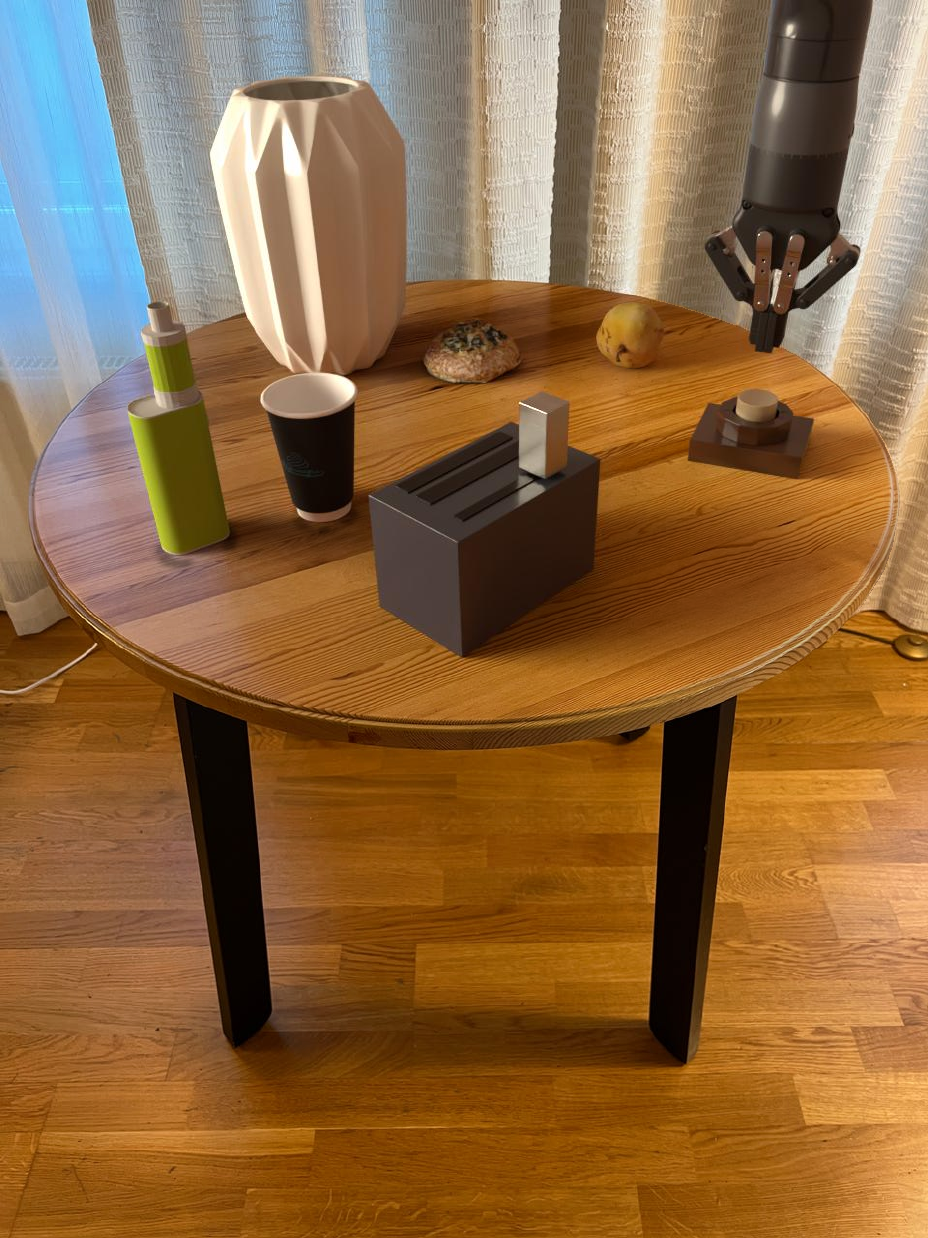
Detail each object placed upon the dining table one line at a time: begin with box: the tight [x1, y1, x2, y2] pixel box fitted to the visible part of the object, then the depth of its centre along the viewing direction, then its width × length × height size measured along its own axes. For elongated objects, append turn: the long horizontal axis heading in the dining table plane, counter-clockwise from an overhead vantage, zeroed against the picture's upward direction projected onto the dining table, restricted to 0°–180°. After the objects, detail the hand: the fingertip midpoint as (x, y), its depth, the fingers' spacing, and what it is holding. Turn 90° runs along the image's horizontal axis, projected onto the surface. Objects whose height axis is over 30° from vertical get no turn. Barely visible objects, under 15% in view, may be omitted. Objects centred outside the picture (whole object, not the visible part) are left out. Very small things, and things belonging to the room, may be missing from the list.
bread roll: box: [422, 318, 523, 384], centre depth 112 cm, size 11×11×5 cm
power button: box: [735, 388, 779, 422], centre depth 93 cm, size 4×4×2 cm
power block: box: [687, 396, 815, 480], centre depth 95 cm, size 10×8×4 cm
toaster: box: [368, 421, 601, 659], centre depth 77 cm, size 15×9×10 cm, turn 135°
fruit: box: [595, 301, 665, 369], centre depth 110 cm, size 7×7×10 cm
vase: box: [209, 74, 408, 376], centre depth 107 cm, size 20×20×28 cm
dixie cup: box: [260, 373, 359, 523], centre depth 87 cm, size 8×8×11 cm
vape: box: [126, 300, 231, 556], centre depth 81 cm, size 4×6×20 cm, turn 126°
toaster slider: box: [518, 390, 570, 479], centre depth 72 cm, size 2×3×5 cm
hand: (765, 349), depth 90 cm, fingers closed
